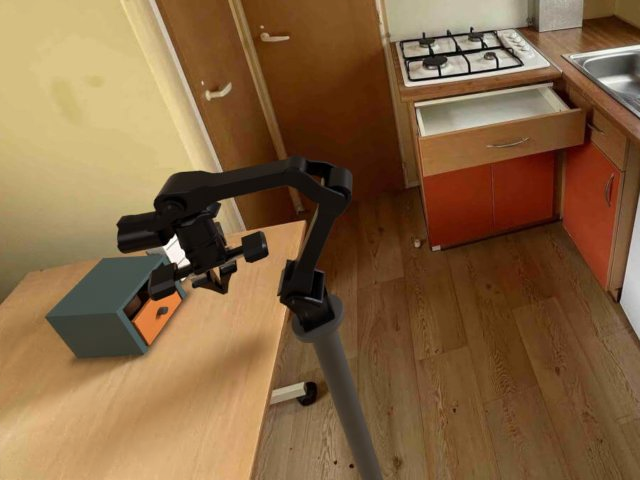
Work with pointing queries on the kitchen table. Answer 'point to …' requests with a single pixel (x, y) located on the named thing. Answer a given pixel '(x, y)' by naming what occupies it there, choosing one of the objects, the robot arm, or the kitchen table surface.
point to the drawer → (153, 315)
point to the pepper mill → (133, 307)
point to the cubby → (105, 308)
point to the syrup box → (171, 253)
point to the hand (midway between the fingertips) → (225, 292)
